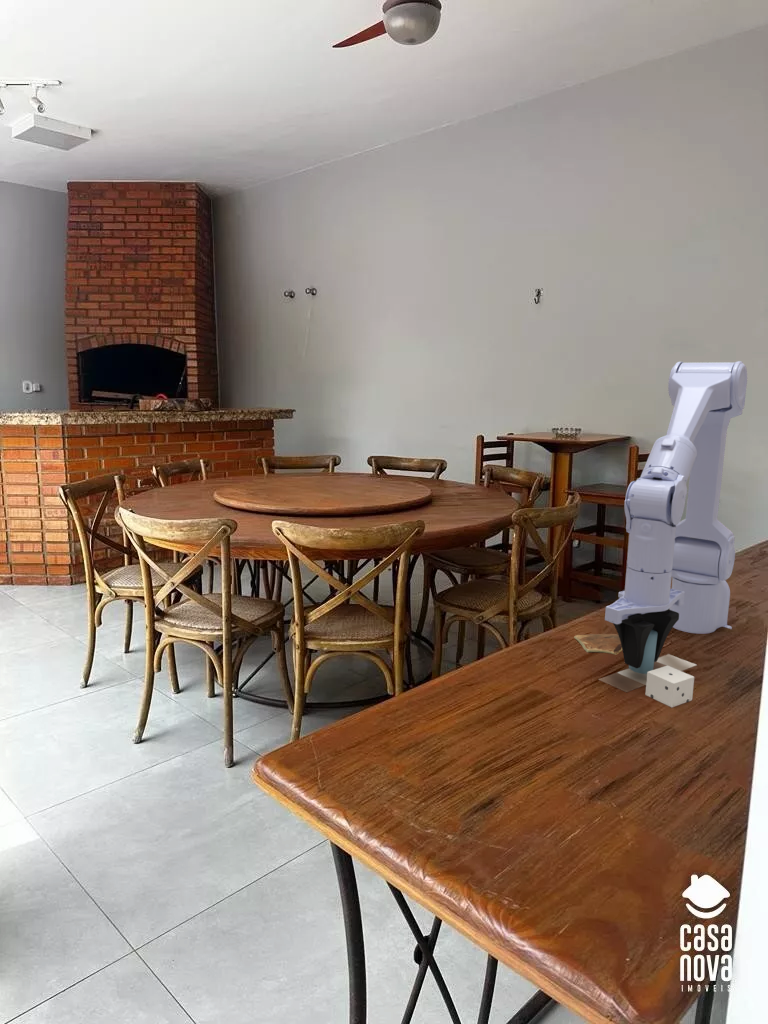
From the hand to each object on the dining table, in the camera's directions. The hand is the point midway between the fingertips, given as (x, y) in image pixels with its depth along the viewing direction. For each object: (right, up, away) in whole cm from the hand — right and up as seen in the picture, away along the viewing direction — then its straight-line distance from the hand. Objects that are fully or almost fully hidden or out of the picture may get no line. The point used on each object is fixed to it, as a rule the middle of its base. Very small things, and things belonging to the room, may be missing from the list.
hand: (641, 662), depth 95 cm
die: (+1, -4, -6) cm, 7 cm away
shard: (-1, -1, +13) cm, 13 cm away
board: (+2, -2, +2) cm, 3 cm away
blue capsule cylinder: (0, -1, 0) cm, 1 cm away
